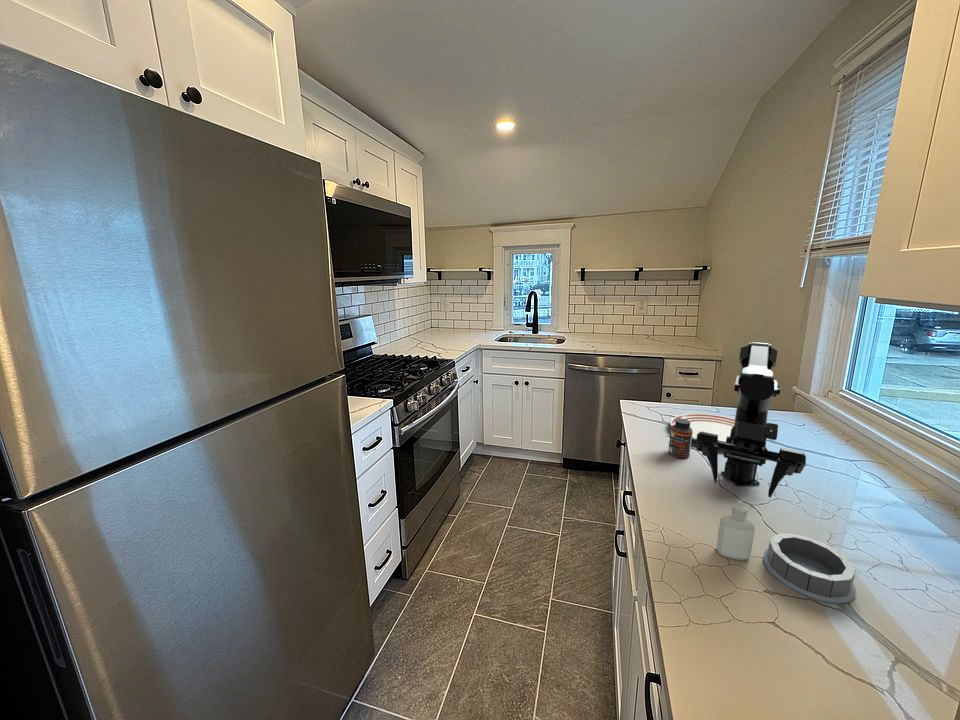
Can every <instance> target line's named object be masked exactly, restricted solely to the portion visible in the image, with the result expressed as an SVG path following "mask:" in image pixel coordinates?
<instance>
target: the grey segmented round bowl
mask: <svg viewBox="0 0 960 720" xmlns="http://www.w3.org/2000/svg"><path fill="white" fill-rule="evenodd" d="M763 563H764V566H765V568H766V569H767V570H768V572H769V573H770V574H771V575H772V576H773V577H774V578H776V580H778V581H779V582H780V583H782V584H783V585H785V586H786V587H787V588H789V589H791V590H792V591H795V592H796V593H798V594H800V595H802V596H804V597H807V598H809V599H813V600H816V601H819V602H824V603H828V604H836V605H838V604H839V605H840V604H841V605H842V604H847V603H850V602H851V601H853V599H855V597H856V596H855V595H856V591H857V590H856V589H857V588H856V586H855V584H854V580H855V577H856V570H855V568H854V566H853V564H852V563H851V562H850V560H849V559H848V558H847V557H846V556H844V555H843V554H842V553H841V552H839V551H837V549H835V548H834V547H831V546H830V545H828V544H826V543H823V542H822V541H819V540H817V539H815V538H812V537H809V536H803V535H799V534H796V533H776V534H774V536H772V538H770V539H769V544H768V548H767V549H766V550H765V551H764V553H763Z"/></svg>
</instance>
